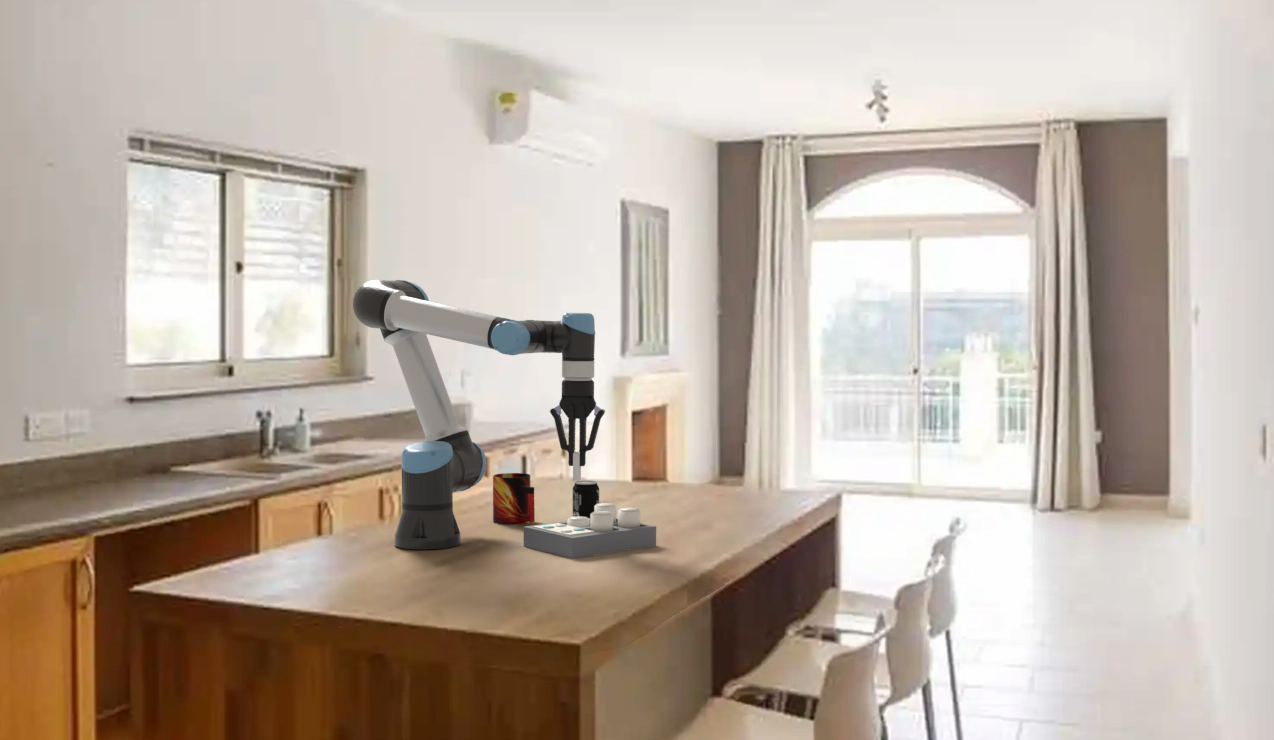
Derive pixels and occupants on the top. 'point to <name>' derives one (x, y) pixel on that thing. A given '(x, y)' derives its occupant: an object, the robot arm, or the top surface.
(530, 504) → the mug
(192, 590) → the top surface
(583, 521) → the button
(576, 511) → the beverage can
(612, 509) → the button
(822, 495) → the top surface
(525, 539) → the board
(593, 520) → the button
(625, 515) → the button
